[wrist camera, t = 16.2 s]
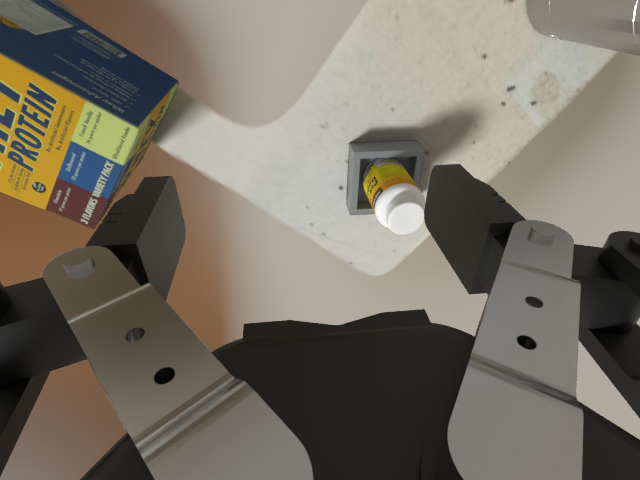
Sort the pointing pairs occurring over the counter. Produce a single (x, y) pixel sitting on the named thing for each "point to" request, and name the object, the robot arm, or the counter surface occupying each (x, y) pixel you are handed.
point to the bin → (368, 152)
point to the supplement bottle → (394, 195)
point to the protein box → (71, 111)
